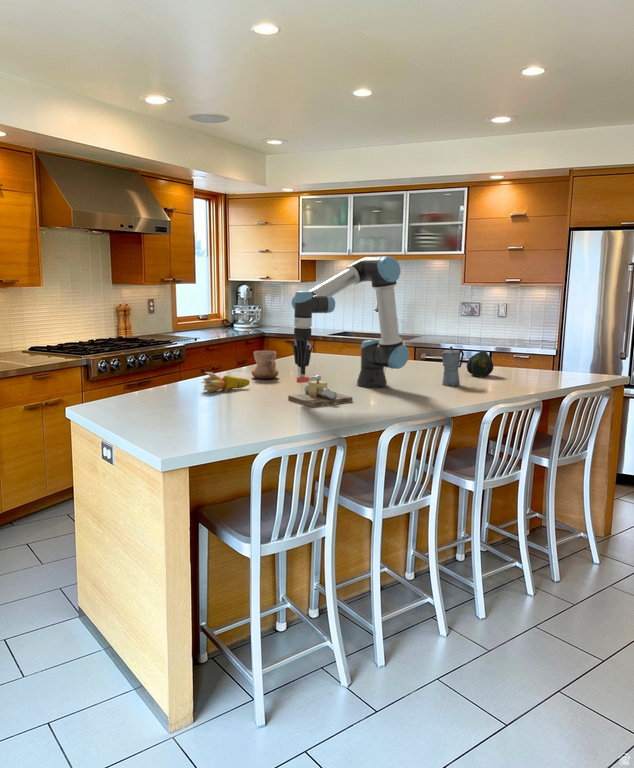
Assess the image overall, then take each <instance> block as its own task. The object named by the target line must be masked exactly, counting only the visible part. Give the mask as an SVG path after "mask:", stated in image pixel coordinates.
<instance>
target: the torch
mask: <svg viewBox="0 0 634 768" xmlns="http://www.w3.org/2000/svg"><path fill="white" fill-rule="evenodd" d="M204 373H205V374H207V375H208V376H207V377H204V378H203V377H202V380H203V381H201V382H200V384H201V383H202V384H204V385H203V386H202V387H203V389H202V390H203V391H206V392H210V393H215V392H217V391H223V390H225V391H224V392H228V391H231V390H234V389H241V388H245V387H247V386H249V385H250V380H249V379H248V378H245V377H244V378H242V377H236V376H231V375H224V376H223V377H222V378H221V377H220V376H218V375H217V374H215V373H214V372H212V371H205V372H204ZM227 390H228V391H227Z"/></svg>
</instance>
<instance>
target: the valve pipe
mask: <svg viewBox="0 0 634 768" xmlns="http://www.w3.org/2000/svg"><path fill="white" fill-rule="evenodd" d="M304 392H305V393H306V394H308V395H309V396H313V397H322V398H327V399H331V400H335V399H336V397H337V394H336V393H337V392H336V391H333V390H331V389H329V388H328V382H325V381H322V380H320V381H316V380H314V381H309V382H307V384H306V385H305V387H304ZM305 393H304V394H305Z"/></svg>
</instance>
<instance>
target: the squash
mask: <svg viewBox="0 0 634 768" xmlns="http://www.w3.org/2000/svg"><path fill="white" fill-rule="evenodd" d="M466 370H467V372H468V373H469V374H471V375H472V376H473V377H483V376H484V377H487V376H488V375H490V374H491V373H493V370H494V362H493V359H492V358H491V356H490V355H489V353H488V352H487V351H486V350H481V351H479V352H477V353H475V354H474V355H472V356H470V357H469V358H468V360H467V363H466Z"/></svg>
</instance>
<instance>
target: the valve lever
mask: <svg viewBox="0 0 634 768" xmlns="http://www.w3.org/2000/svg"><path fill="white" fill-rule="evenodd" d="M313 381H322V376H321V375H320V374H316V375H314V376H307V375H305V377H298V376H297V377H296V383H297V384H302V383H308V382H313Z"/></svg>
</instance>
